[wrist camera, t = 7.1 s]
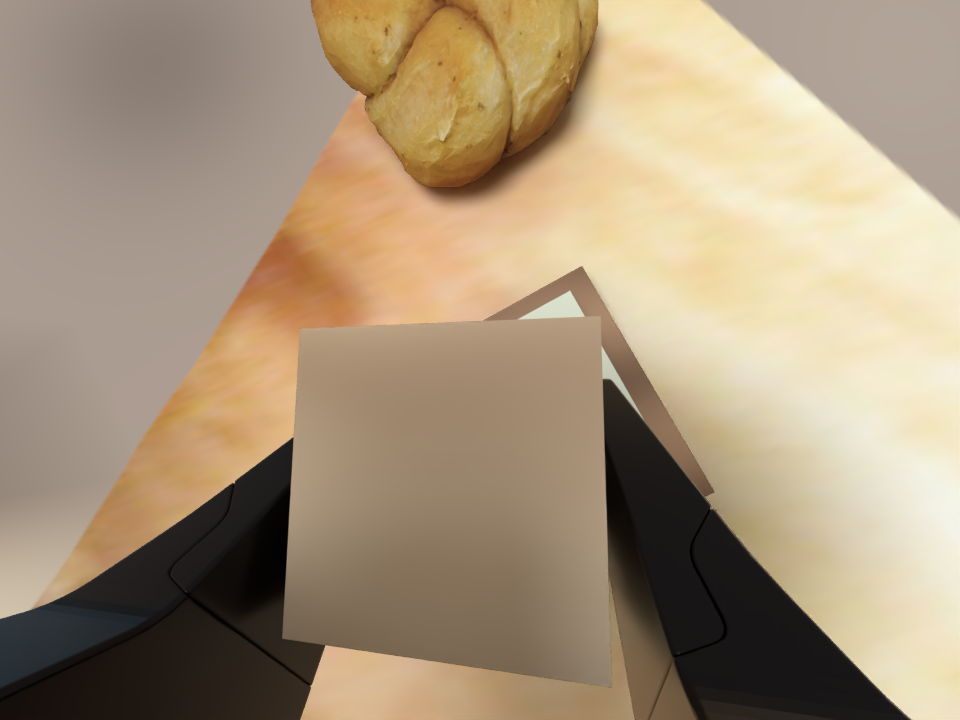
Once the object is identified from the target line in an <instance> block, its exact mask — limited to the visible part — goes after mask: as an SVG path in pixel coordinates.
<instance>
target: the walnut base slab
mask: <svg viewBox="0 0 960 720" xmlns="http://www.w3.org/2000/svg"><path fill="white" fill-rule="evenodd" d="M569 291H571V293H572V295H573V297H574V298H575V300H576V302H577V304H578V305H579V307H580V309H581V311H582V312H583V314H584V316H585V317H589V316H601V344H602V347H603V349H604V351H605V353H606V354H607V356H608V358H609V360H610V361H611V363H612V365H613V367H614V368H615V370H616V372H617V374H618V375H619V377H620V379H621V381H622V382H623V384H624V386H625V387H626V389H627V391H628V393H629V394H630V396H631V398H632V400H633V401H634V403H635V405H636V407H637V408H638V410H639V412H640V414H641V415H642V417H643V419H644V421H645V422H646V423H647V425H648V426H649V427H650V428H651V430H652V431H653V432H654V434H655V435H656V436H657V437H658V439H659V440H660V441H661V442H662V444H663V445H664V446H665V447H666V449H667V450H668V451H669V452H670V454H671V455H672V456H673V458H674V459H675V460H676V461H677V463H678V464H679V465H680V466H681V468H682V469H683V470H684V471H685V473H686V474H687V475H688V477H689V478H690V479H691V480H692V482H693V483H694V484H695V485H696V487H697V488H698V489H699V490H700V492H701V493H702V494H703V496H704V497H705V496H707V495H709V494H712V493H714V490H713V489H712V487H711V485H710V483H709V482H708V480H707V478H706V477H705V475H704V473H703V472H702V470H701V468H700V466H699V465H698V463H697V461H696V460H695V458H694V456H693V454H692V453H691V451H690V449H689V448H688V446H687V444H686V443H685V441H684V439H683V437H682V436H681V434H680V432H679V431H678V429H677V427H676V426H675V424H674V422H673V420H672V419H671V417H670V415H669V414H668V412H667V410H666V409H665V407H664V405H663V403H662V402H661V400H660V398H659V397H658V395H657V393H656V392H655V390H654V388H653V386H652V385H651V383H650V381H649V380H648V378H647V376H646V374H645V373H644V371H643V369H642V368H641V366H640V364H639V363H638V361H637V359H636V357H635V356H634V354H633V352H632V351H631V349H630V347H629V346H628V344H627V342H626V340H625V339H624V337H623V335H622V334H621V332H620V330H619V329H618V327H617V325H616V323H615V322H614V320H613V318H612V317H611V315H610V313H609V311H608V310H607V308H606V306H605V305H604V303H603V301H602V300H601V298H600V296H599V294H598V293H597V291H596V289H595V288H594V286H593V284H592V283H591V281H590V279H589V277H588V276H587V274H586V272H585V271H584V269H583V267H582V266H581V267H579V268H577V269H576V270H574V271H572V272H570V273H568V274H566V275H565V276H563V277H561V278H559V279H557V280H556V281H554V282H552V283H550V284H548V285H547V286H545V287H543V288H541V289H539V290H538V291H536V292H534V293H532V294H530V295H529V296H527V297H525V298H523V299H521V300H520V301H518V302H516V303H514V304H512V305H511V306H509V307H507V308H505V309H503V310H501V311H500V312H498V313H496V314H494V315H492V316H491V317H489V318H487V319H485V320H483V321H495V320H517V319H519V318H521V317H523V316H525V315H526V314H528V313H530V312H532V311H534V310H536V309H537V308H539V307H541V306H543V305H545V304H547V303H548V302H550V301H552V300H554V299H556V298H558V297H559V296H561V295H563V294H565V293H567V292H569Z"/></svg>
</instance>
